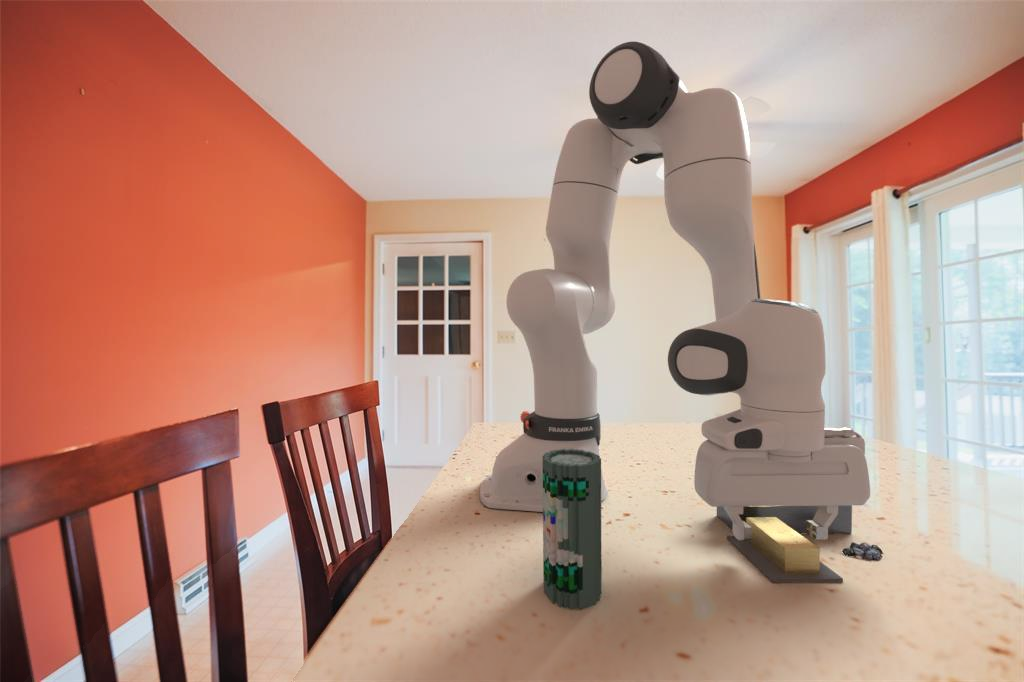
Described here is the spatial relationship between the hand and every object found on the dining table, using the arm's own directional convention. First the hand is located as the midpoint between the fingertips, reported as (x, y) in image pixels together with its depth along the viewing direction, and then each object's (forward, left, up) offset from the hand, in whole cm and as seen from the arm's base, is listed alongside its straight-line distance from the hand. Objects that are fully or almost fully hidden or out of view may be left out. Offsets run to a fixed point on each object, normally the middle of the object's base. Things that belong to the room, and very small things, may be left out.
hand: (779, 537), depth 52 cm
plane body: (+6, +9, -3) cm, 11 cm away
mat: (0, 0, -3) cm, 3 cm away
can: (-27, -6, -3) cm, 28 cm away
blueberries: (+12, +2, -3) cm, 12 cm away
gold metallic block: (0, 0, -2) cm, 2 cm away
